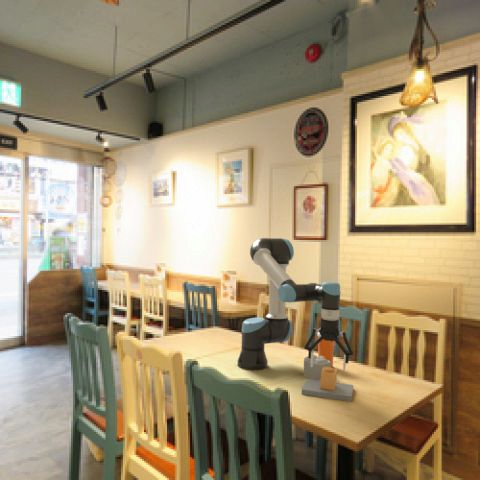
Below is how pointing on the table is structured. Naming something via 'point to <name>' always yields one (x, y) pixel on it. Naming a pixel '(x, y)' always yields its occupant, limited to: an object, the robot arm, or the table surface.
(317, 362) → the lumpy-topped squat cylinder
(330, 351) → the shaker bottle
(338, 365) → the table surface
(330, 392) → the plate
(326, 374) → the tan hollow block
